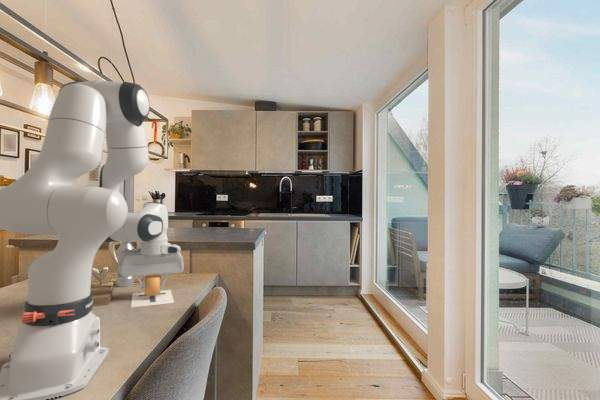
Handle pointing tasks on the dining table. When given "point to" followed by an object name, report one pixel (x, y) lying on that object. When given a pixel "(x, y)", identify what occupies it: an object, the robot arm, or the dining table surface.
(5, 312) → the dining table surface
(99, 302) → the walnut block
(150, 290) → the orange cylinder
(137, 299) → the letter card
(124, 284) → the plastic bottle
